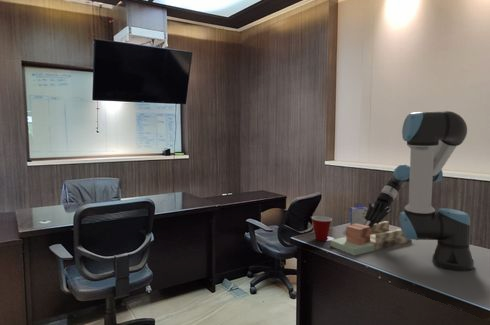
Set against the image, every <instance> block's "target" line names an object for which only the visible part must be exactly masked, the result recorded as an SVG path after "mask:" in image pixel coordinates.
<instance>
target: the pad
mask: <svg viewBox="0 0 490 325" xmlns="http://www.w3.org/2000/svg"><path fill="white" fill-rule="evenodd" d="M330 246H331V247H333V248H335V249H338V250H339V249H340V251H343V252H344V251H345V253H346V254H349V253H350V255H352V256H354V257H355V256H360V255H361V254H362V255H363V254H367V253H369V252H375V250H374V244H372V243H369V242H367V243H364V244H361V245H358V244H355V243H352V242H349V241H346V236H344V237H343V236H342V237H339V238H335V239H330Z"/></svg>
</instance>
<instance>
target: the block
mask: <svg viewBox="0 0 490 325" xmlns="http://www.w3.org/2000/svg"><path fill="white" fill-rule="evenodd" d="M345 227H346V232H345V235H346V236H345V237H346V241H349V242H352V243H355V244H358V245H361V244H364V243H367V242H370V227H369V226H365V225H361V224H357V223H356V224H352V225H350V224H349V225H346V226H345Z"/></svg>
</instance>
